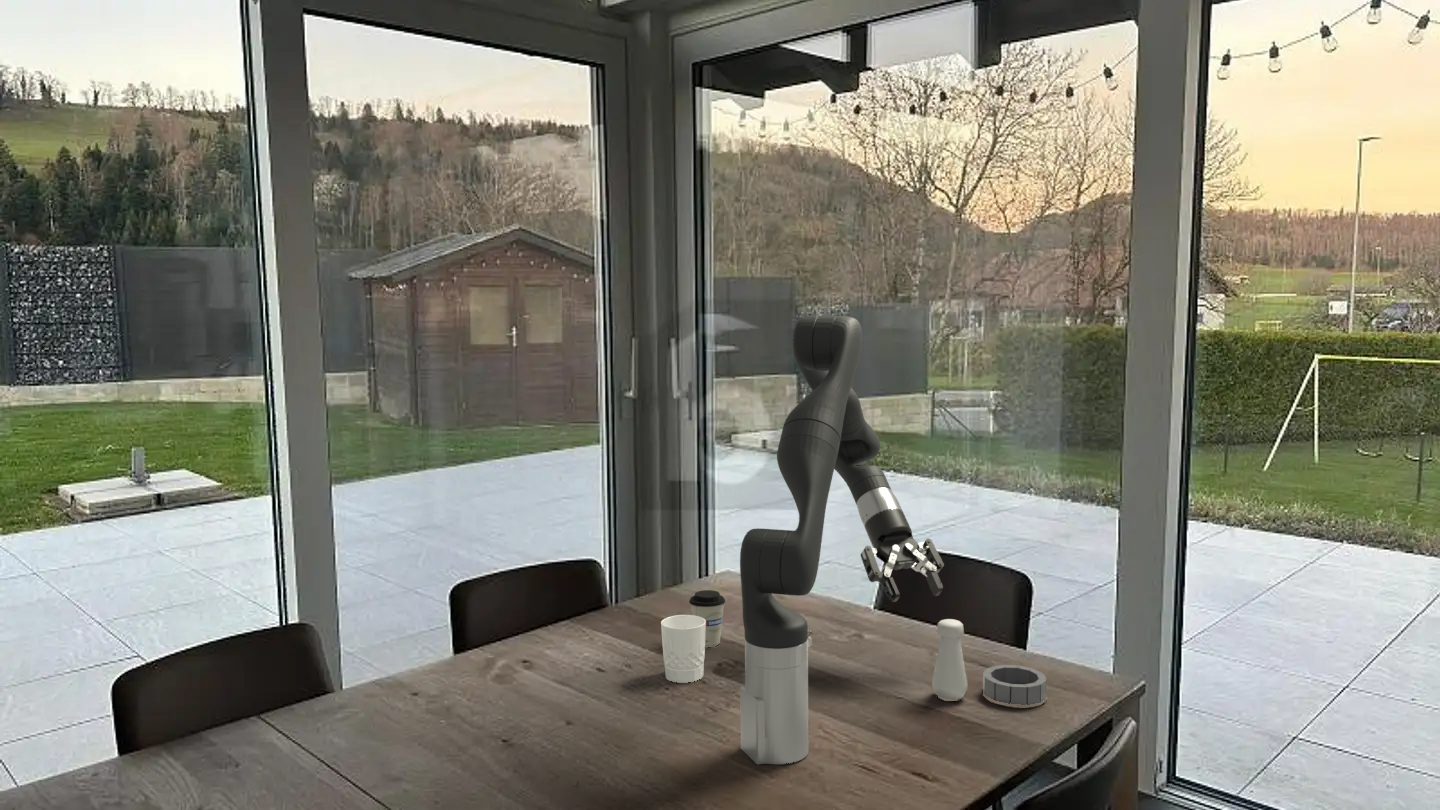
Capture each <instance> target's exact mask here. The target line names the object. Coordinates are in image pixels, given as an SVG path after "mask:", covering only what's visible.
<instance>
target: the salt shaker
mask: <svg viewBox="0 0 1440 810" xmlns="http://www.w3.org/2000/svg"><path fill="white" fill-rule="evenodd" d="M964 630H965V629H964V624H963V623H962V622H961V621H960V620H959V619H958V620H957V619H953V618H946V619H945V618H944V619H941V620H939V622H937V627H936V632H937V635H938V636H939V637H940V639H939V643H938V644H939V645H938V649H937V650H938V651H937V655H936V659H935V660H936V662H935V667H934V671H933V675H932V679H931V684H932V689H933V691H934V693H935V695H938V696H939V697H942V698H946V699H958V698H961V697H963V698H964V697H965V693H966V692H967V690H968V686H969V684H968V678H967V674H966V673H967V672H966V667H965V660H964V655H963V648H962V643H961V637H963V635H964Z"/></svg>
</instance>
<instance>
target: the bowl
mask: <svg viewBox="0 0 1440 810" xmlns="http://www.w3.org/2000/svg"><path fill="white" fill-rule="evenodd" d="M982 673H983V674H982V675H983V676H982V678H983V679H982V689H983V691H984V694H985V695H986V696H988V697H990V698H991V699H993V700H995V701H999V702H1004V703H1008V704H1010V703H1011V704H1021V705H1026V704H1027V705H1030V704H1035V703H1041V702H1042V701H1043V702H1044V699H1047V700H1048V696H1047V697H1046V694H1047V688H1048V687H1047V682H1048V679H1047V677H1046V675H1045V674H1044V672H1041V671H1040V670H1039V671H1038V670H1037V669H1035V668H1031V667H1028V666H1024V665H1017V664H1016V665H1014V664H1013V665H1012V664H1000V665H995V666H990V667H988V668H986V669H985V670H983V672H982Z"/></svg>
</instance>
